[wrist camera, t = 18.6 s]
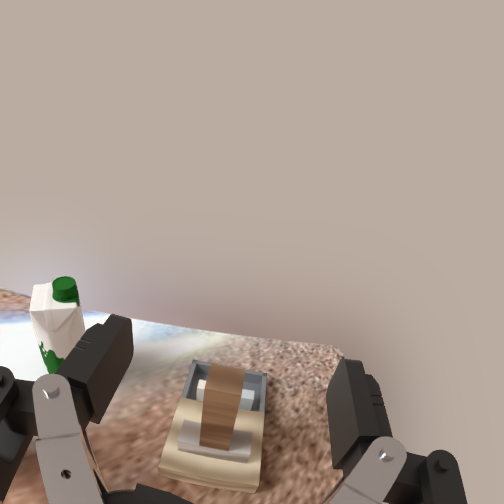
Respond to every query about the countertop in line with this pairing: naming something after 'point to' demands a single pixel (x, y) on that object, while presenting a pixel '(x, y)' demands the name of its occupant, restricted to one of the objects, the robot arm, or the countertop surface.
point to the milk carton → (56, 320)
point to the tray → (251, 382)
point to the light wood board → (213, 469)
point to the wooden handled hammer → (218, 419)
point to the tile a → (200, 390)
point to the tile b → (246, 399)
